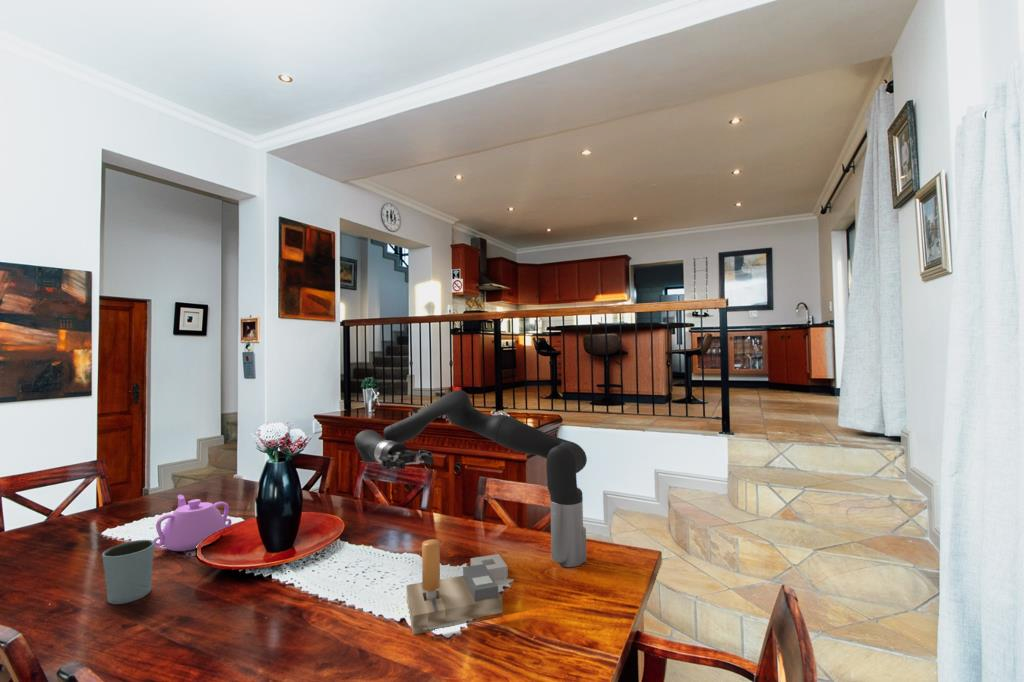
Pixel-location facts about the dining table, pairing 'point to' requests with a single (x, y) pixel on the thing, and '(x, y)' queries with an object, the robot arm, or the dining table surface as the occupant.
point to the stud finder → (480, 582)
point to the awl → (431, 567)
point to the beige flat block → (448, 605)
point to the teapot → (190, 524)
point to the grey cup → (128, 570)
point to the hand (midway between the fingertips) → (418, 463)
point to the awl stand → (492, 565)
